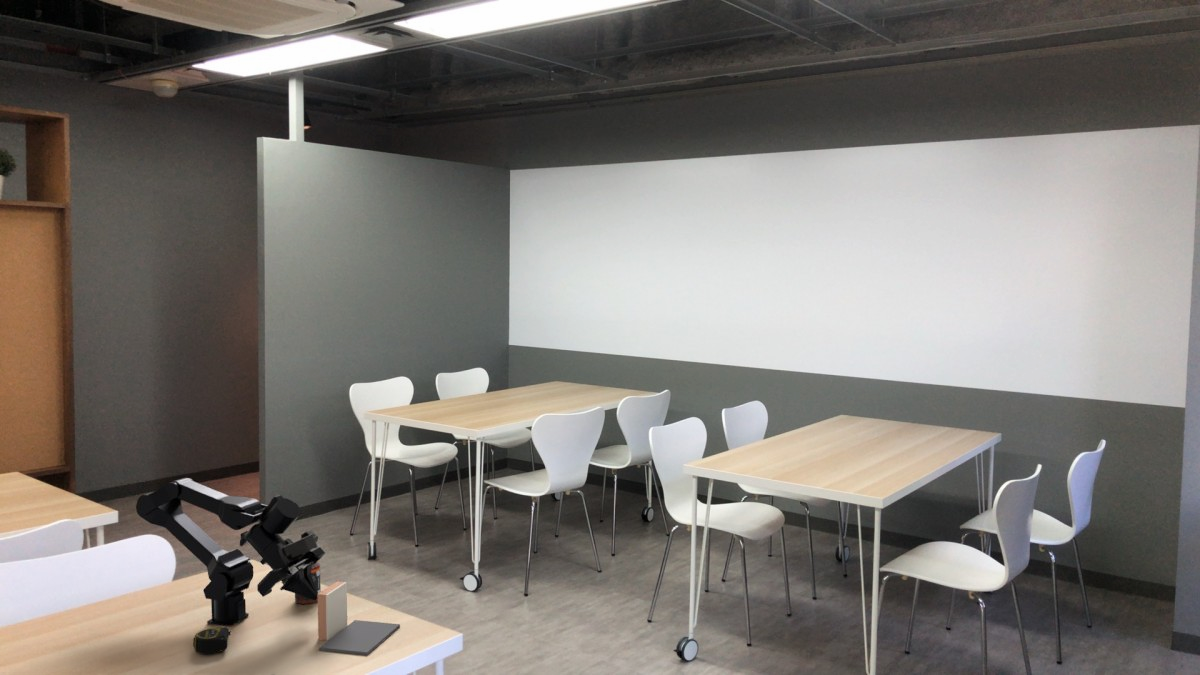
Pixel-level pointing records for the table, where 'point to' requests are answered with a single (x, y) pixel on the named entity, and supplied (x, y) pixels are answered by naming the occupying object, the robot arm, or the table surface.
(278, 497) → the robot arm
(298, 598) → the supplement bottle
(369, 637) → the mat
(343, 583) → the tile
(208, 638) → the tape measure
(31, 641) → the table surface
